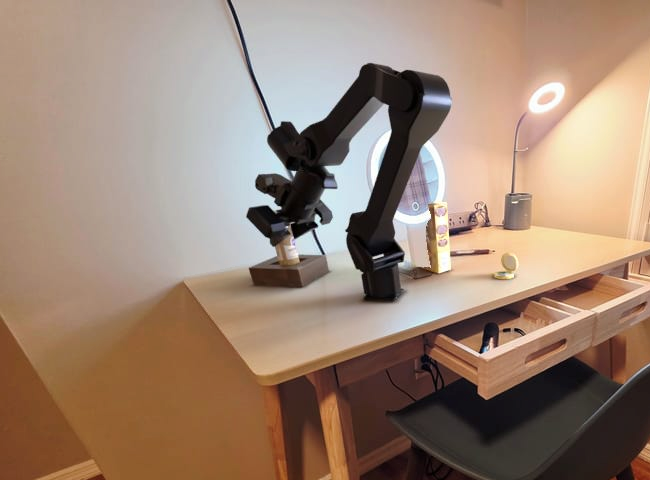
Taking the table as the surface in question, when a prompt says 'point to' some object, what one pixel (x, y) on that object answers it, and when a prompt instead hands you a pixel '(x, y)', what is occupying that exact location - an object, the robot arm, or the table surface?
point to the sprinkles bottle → (287, 250)
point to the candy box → (438, 238)
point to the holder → (289, 271)
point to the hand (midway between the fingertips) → (280, 242)
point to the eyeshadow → (507, 266)
